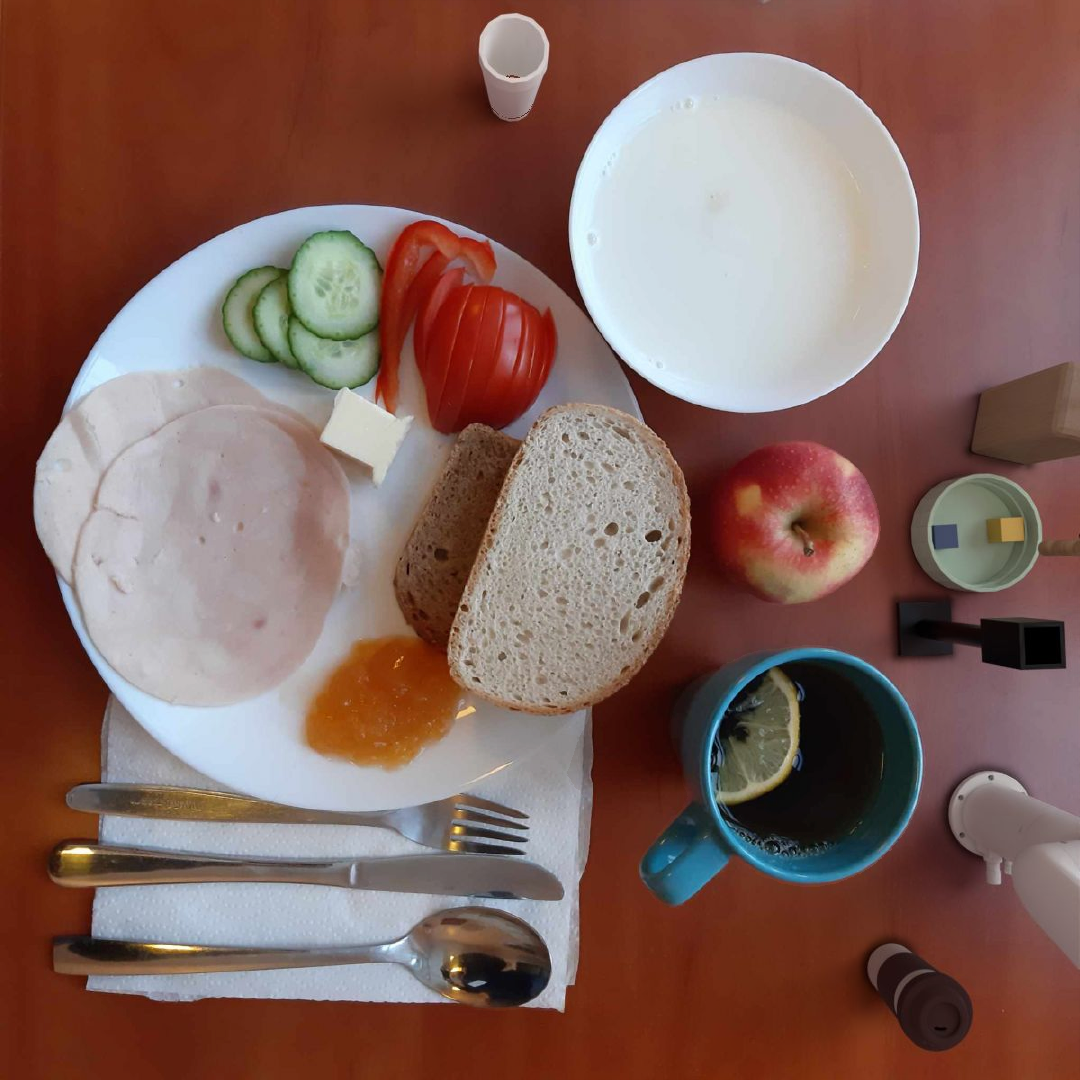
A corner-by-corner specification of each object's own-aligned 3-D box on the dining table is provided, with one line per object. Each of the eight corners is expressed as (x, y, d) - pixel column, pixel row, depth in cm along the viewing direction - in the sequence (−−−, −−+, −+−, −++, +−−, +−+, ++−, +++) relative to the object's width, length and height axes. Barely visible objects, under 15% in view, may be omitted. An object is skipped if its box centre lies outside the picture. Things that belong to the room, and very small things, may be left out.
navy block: (945, 548, 128) (958, 547, 125) (923, 549, 128) (935, 549, 125) (944, 525, 128) (957, 523, 125) (921, 526, 128) (933, 525, 125)
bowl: (1020, 589, 130) (1044, 590, 124) (911, 592, 128) (930, 593, 123) (1016, 476, 130) (1039, 472, 124) (906, 478, 129) (925, 474, 123)
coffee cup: (884, 919, 127) (938, 967, 112) (935, 960, 127) (995, 1013, 112) (844, 972, 126) (892, 1028, 111) (894, 1014, 126) (950, 1074, 112)
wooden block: (1029, 466, 130) (1128, 449, 110) (967, 453, 130) (1055, 433, 110) (1040, 403, 131) (1141, 374, 111) (979, 389, 130) (1068, 357, 110)
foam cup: (471, 119, 126) (469, 68, 113) (489, 61, 126) (490, 4, 114) (532, 140, 127) (538, 91, 114) (550, 82, 127) (558, 27, 114)
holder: (949, 653, 129) (1076, 678, 101) (898, 655, 128) (1011, 680, 100) (947, 600, 129) (1073, 610, 101) (896, 602, 128) (1008, 612, 101)
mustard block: (1010, 541, 129) (1024, 540, 125) (987, 542, 129) (1001, 542, 125) (1008, 518, 129) (1023, 516, 126) (986, 519, 129) (1000, 518, 125)
